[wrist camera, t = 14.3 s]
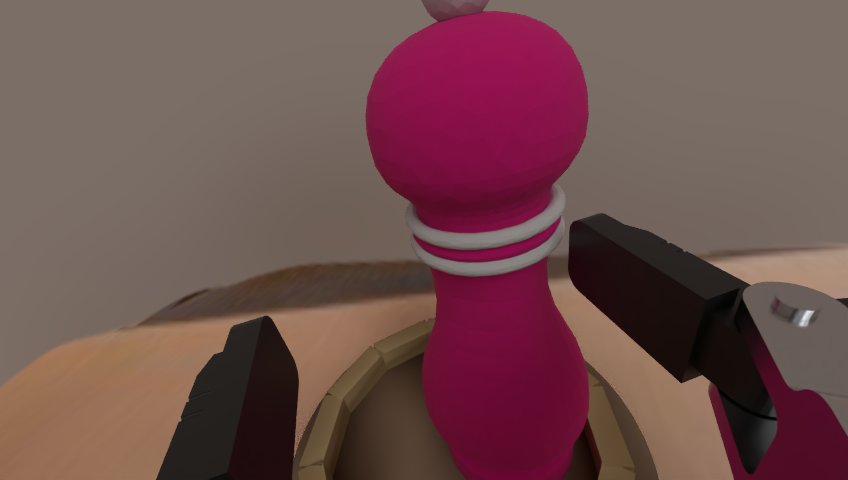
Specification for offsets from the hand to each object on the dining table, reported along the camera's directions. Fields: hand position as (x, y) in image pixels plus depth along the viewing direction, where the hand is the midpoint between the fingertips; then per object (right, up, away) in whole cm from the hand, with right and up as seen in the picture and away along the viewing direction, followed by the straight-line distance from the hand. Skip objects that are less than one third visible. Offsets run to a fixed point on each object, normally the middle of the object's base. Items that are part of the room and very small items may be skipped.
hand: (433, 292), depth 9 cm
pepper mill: (+4, -9, +9) cm, 13 cm away
